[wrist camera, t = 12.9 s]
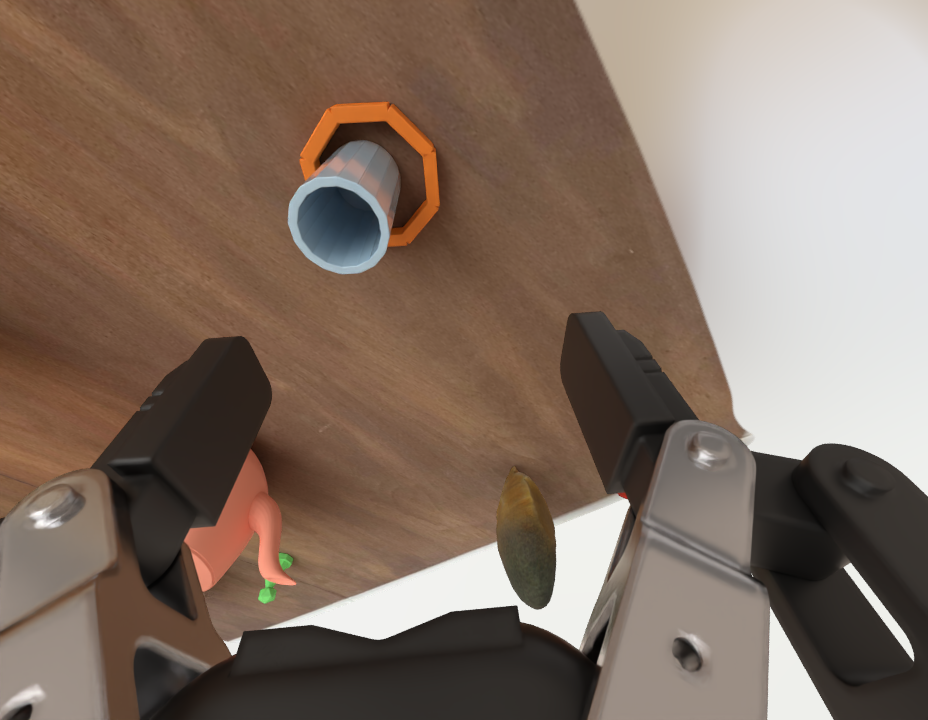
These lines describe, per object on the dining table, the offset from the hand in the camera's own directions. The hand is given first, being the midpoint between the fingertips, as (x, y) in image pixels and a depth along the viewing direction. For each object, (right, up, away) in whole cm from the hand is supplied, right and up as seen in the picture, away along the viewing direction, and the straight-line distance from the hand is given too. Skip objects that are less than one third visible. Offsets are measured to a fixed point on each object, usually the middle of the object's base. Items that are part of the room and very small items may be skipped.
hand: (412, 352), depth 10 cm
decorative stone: (+7, -13, +36) cm, 39 cm away
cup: (-5, +11, +14) cm, 19 cm away
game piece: (-27, -30, +47) cm, 62 cm away
